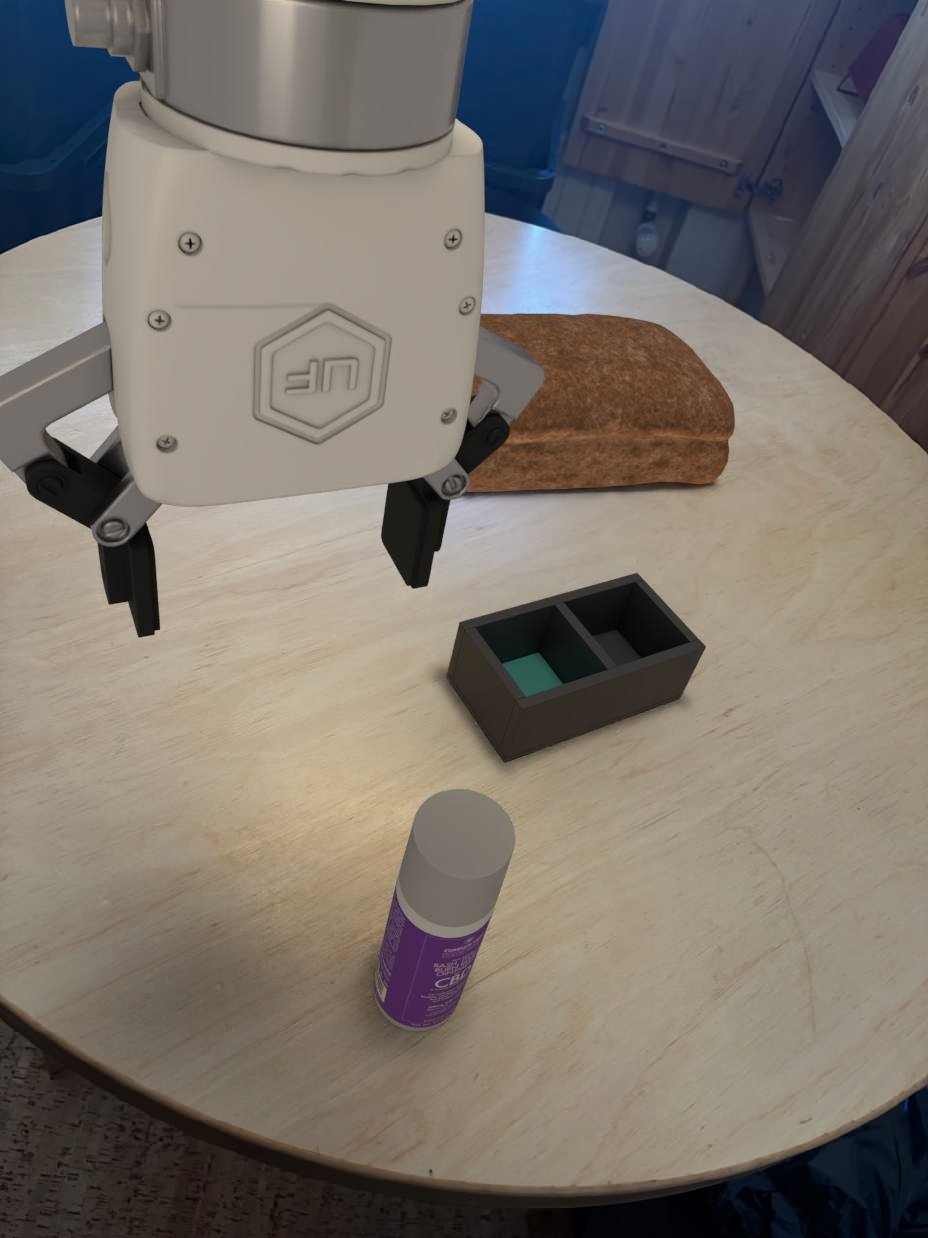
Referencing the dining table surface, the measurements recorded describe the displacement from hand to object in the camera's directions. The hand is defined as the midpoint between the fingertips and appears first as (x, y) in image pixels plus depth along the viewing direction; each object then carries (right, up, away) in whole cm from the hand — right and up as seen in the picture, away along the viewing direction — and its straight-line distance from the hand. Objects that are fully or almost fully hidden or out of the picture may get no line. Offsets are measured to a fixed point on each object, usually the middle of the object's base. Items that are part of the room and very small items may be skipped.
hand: (279, 584), depth 34 cm
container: (+4, -21, +17) cm, 27 cm away
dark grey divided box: (+14, -6, +34) cm, 37 cm away
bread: (+15, +16, +57) cm, 61 cm away
